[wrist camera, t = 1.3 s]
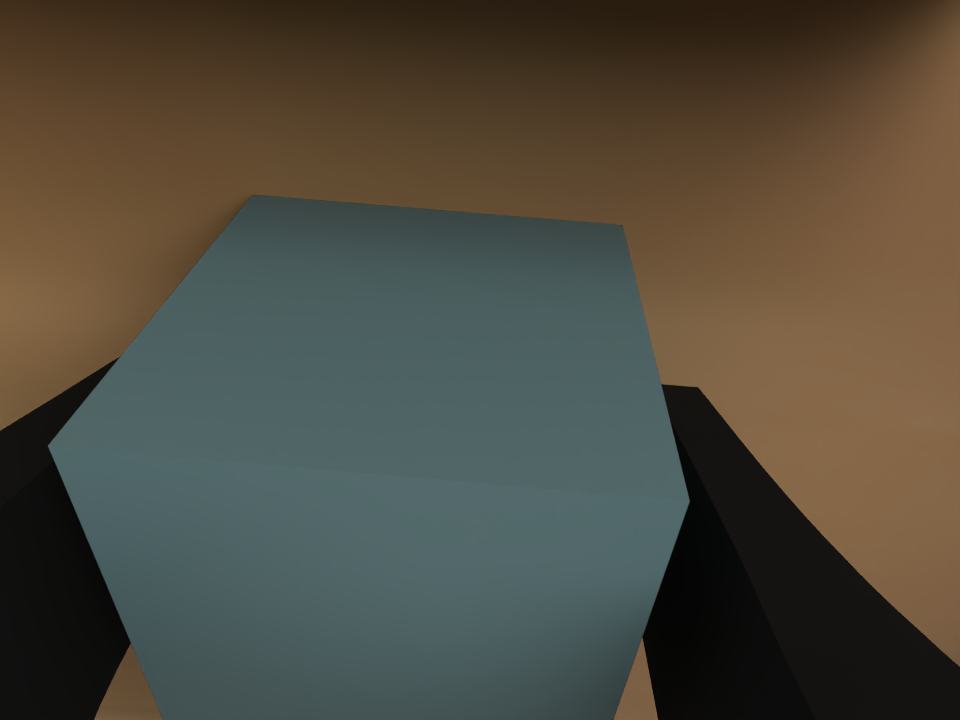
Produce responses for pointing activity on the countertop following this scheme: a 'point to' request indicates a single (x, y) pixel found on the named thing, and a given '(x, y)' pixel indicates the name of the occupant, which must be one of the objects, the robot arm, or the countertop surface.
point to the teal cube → (385, 470)
